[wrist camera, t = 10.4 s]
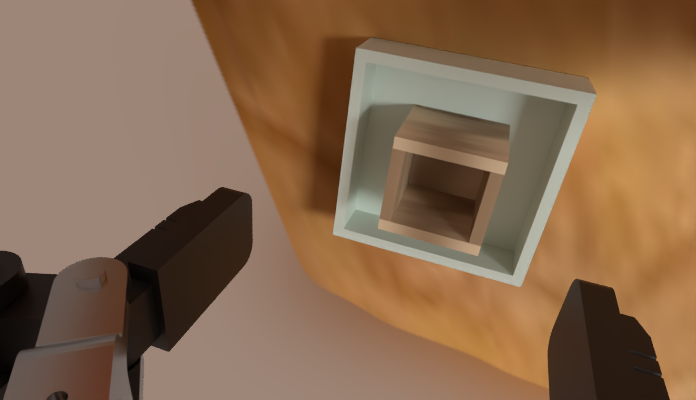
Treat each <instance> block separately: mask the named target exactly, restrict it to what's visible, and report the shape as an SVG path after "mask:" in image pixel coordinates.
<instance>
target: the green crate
mask: <svg viewBox="0 0 696 400" xmlns="http://www.w3.org/2000/svg"><path fill="white" fill-rule="evenodd" d="M596 96H597V94H596V92H595V90H594V88H593V86H592V84H591V82H590V80H589V78H586V77H581V76H576V75H570V74H565V73H560V72H554V71H549V70H544V69H538V68H533V67H528V66H523V65H517V64H512V63H507V62H501V61H496V60H491V59H485V58H480V57H475V56H470V55H464V54H459V53H454V52H448V51H443V50H438V49H432V48H427V47H422V46H417V45H411V44H406V43H401V42H395V41H390V40H385V39H379V38H374V37H371V38H370V39H368V40H367V41H365V42H364V43H362V44H361V45H359V46H358V47H356V52H355V60H354V68H353V76H352V84H351V92H350V100H349V109H348V117H347V125H346V133H345V141H344V149H343V157H342V165H341V173H340V182H339V190H338V198H337V206H336V214H335V222H334V230H333V235H336V236H340V237H344V238H347V239H351V240H354V241H358V242H361V243H365V244H368V245H372V246H376V247H379V248H383V249H386V250H390V251H393V252H397V253H401V254H404V255H408V256H411V257H415V258H418V259H422V260H425V261H429V262H433V263H436V264H440V265H443V266H447V267H450V268H454V269H457V270H461V271H465V272H468V273H472V274H475V275H479V276H482V277H486V278H490V279H493V280H497V281H500V282H504V283H507V284H511V285H514V286H518V287H521V285H522V283H523V280H524V278H525V275H526V273H527V270H528V267H529V265H530V262H531V260H532V257H533V255H534V252H535V250H536V247H537V245H538V242H539V240H540V237H541V235H542V232H543V230H544V227H545V225H546V222H547V219H548V217H549V214H550V212H551V209H552V207H553V204H554V202H555V199H556V197H557V194H558V192H559V189H560V187H561V184H562V182H563V179H564V176H565V174H566V171H567V169H568V166H569V164H570V161H571V159H572V156H573V154H574V151H575V149H576V146H577V144H578V141H579V139H580V136H581V133H582V131H583V128H584V126H585V123H586V121H587V118H588V116H589V113H590V111H591V108H592V106H593V103H594V101H595V98H596ZM415 104H417V105H422V106H427V107H431V108H436V109H440V110H445V111H449V112H454V113H459V114H463V115H468V116H472V117H477V118H481V119H486V120H491V121H495V122H500V123H504V124H509V125H510V137H509V160H508V166H507V169H506V172H505V175H504V178H503V181H502V184H501V187H500V190H499V193H498V196H497V199H496V202H495V205H494V208H493V211H492V214H491V218H490V221H489V224H488V227H487V230H486V233H485V236H484V239H483V242H482V245H481V248H480V251H479V254H478V256H475V255H472V254H468V253H464V252H461V251H457V250H453V249H450V248H446V247H443V246H439V245H435V244H432V243H428V242H425V241H421V240H417V239H414V238H410V237H407V236H403V235H399V234H396V233H392V232H388V231H385V230H381V229H378V224H379V218H380V213H381V207H382V202H383V197H384V191H385V186H386V181H387V175H388V170H389V164H390V159H391V154H392V148H393V143H394V138H395V135H396V134H397V132H398V130H399V129H400V127H401V126H402V124H403V122H404V121H405V119H406V118H407V116H408V114H409V113H410V111H411V110H412V108H413V106H414V105H415Z"/></svg>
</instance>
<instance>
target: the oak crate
mask: <svg viewBox="0 0 696 400" xmlns="http://www.w3.org/2000/svg"><path fill="white" fill-rule="evenodd" d="M509 137H510V125H509V124H504V123H500V122H495V121H491V120H486V119H481V118H477V117H472V116H468V115H463V114H459V113H454V112H449V111H445V110H440V109H436V108H431V107H427V106H422V105H417V104H415V105H414V106H413V108H412V110H411V111H410V113H409V114H408V116H407V118H406V119H405V121H404V122H403V124H402V126H401V127H400V129H399V130H398V132H397V134H396V135H395V138H394V143H393V148H392V154H391V159H390V164H389V170H388V175H387V181H386V186H385V191H384V197H383V202H382V207H381V213H380V218H379V224H378V229H381V230H385V231H388V232H392V233H396V234H399V235H403V236H407V237H410V238H414V239H417V240H421V241H425V242H428V243H432V244H435V245H439V246H443V247H446V248H450V249H453V250H457V251H461V252H464V253H468V254H472V255H475V256H478V254H479V251H480V248H481V245H482V242H483V239H484V236H485V233H486V230H487V227H488V224H489V221H490V218H491V214H492V211H493V208H494V205H495V202H496V199H497V196H498V193H499V190H500V187H501V184H502V181H503V178H504V175H505V172H506V169H507V166H508V160H509Z"/></svg>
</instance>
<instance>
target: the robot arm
mask: <svg viewBox="0 0 696 400" xmlns="http://www.w3.org/2000/svg"><path fill="white" fill-rule="evenodd" d="M252 240H253V239H252V199H251V196H250V195H249V194H247V193H243V192H240V191H236V190H232V189H228V188H224V187H221V188H219V189H217V190H216V191H215V192H214V193H212V194H211V195H210V196H208V197H207V198H206V199H205V200H203V201H200V200H198V201H195V202H193V203H190V204H188V205H185V206H183V207H180V208H179V209H177V210H176V211H175V212H173V213H172V214H171V215H170V216H168V217H167V218H166V221H165V220H163V221H162V222H161V223H159V224H158V225H157V226H156V227H155V229H151V230H150V231H149V232H147V233H146V234H145V235H144V236H142V237H141V238H140V239H138V240H137V241H136V242H134V243H133V244H132V245H130V246H129V247H128V248H127V249H125V250H124V251H123V252H121V253H120V254H119V255H118V256H116V257H115V258H114V259H113V258H106V257H97V258H90V259H85V260H82V261H79V262H76V263H74V264H72V265H70V266H68V267H66V268H65V269H63V270H62V271H61V272H60V273H59V274H58V275H57V274H38V273H25V270H24V267H23V264H22V261H21V258H20V257H19V256H18V255H16V254H15V253H12V252H8V251H0V400H143V378H144V359H143V353H144V352H145V351H146V350H147V349H148V348H149V347H150V346H154V347H157V348H160V349H163V350H165V351H170V350H171V349H172V348H173V347H174V346H175V344H176V343H177V342H178V341H179V340H180V339H181V338H182V336H183V335H184V334H185V333H186V332H187V331H188V330H189V328H190V327H191V326H192V325H193V324H194V323H195V322H196V320H197V319H198V318H199V317H200V316H201V314H202V313H203V312H204V311H205V310H206V309H207V308H208V306H209V305H210V304H211V303H212V302H213V301H214V300H215V299H216V297H217V296H218V295H219V294H220V293H221V292H222V291H223V289H224V288H225V287H226V286H227V285H228V284H229V283H230V281H231V280H232V279H233V278H234V277H235V276H236V275H237V273H238V272H239V271H240V270H241V269H242V268H243V267H244V265H245V264H246V262H247V261H248V258H249V256H250V253H251V250H252V243H253V241H252ZM656 358H657V357H656V353H655V350H654V347H653V344H652V340H651V337H650V336H649V335H648V334H647V332H646V331H645V330H644V329H643V327H642V326H641V325H640V324H639V322H638V321H637V320H636V319H635V317H631V316H627V315H623V314H620V312H619V308H618V304H617V299H616V295H615V292H614V289H613V288H611V287H607V286H603V285H599V284H595V283H591V282H587V281H583V280H579V279H575V280H574V281H573V283H572V284H571V286H570V289H569V291H568V293H567V296H566V298H565V301H564V303H563V305H562V308H561V310H560V312H559V315H558V317H557V320H556V322H555V324H554V327H553V329H552V332H551V336H550V340H549V346H548V374H549V394H550V400H670V399H669V396H668V392H667V389H666V386H665V383H664V379H663V378H661V375H662V373H661V370H660V366H659V363H658V361H656Z"/></svg>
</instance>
